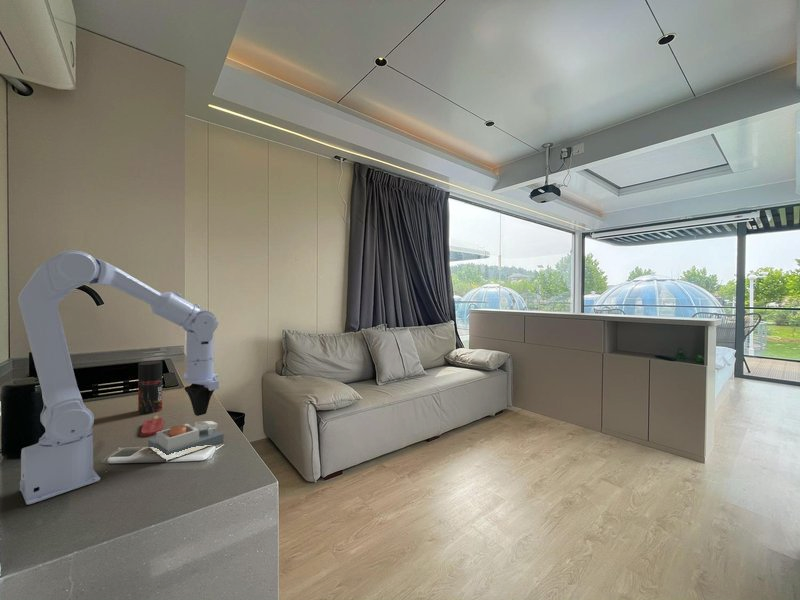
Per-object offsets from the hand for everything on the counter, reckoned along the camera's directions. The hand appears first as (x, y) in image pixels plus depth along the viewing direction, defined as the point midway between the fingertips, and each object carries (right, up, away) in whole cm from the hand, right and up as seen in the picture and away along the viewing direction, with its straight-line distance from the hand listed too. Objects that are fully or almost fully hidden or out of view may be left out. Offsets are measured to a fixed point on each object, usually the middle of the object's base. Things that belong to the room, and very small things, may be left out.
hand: (200, 414), depth 81 cm
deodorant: (-29, -7, +22) cm, 37 cm away
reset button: (-3, -5, -4) cm, 7 cm away
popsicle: (-19, -7, +10) cm, 22 cm away
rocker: (+1, -3, +1) cm, 4 cm away
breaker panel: (-2, -7, -1) cm, 7 cm away
